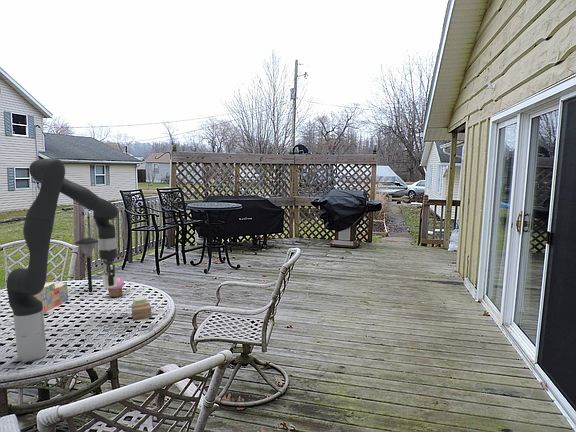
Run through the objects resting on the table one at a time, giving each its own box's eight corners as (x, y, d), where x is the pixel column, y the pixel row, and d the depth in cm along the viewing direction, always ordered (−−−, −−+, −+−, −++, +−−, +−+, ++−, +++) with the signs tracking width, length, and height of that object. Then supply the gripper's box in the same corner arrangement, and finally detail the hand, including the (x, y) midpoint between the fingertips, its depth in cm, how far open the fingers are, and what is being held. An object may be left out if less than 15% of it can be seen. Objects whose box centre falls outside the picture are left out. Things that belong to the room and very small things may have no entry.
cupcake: (127, 293, 219) (126, 276, 218) (119, 299, 210) (118, 280, 209) (112, 293, 220) (111, 275, 219) (103, 298, 211) (102, 280, 210)
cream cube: (117, 286, 182) (116, 275, 181) (105, 288, 179) (104, 277, 178) (114, 283, 186) (114, 273, 185) (103, 285, 183) (102, 275, 182)
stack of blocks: (57, 299, 210) (56, 277, 208) (68, 300, 209) (67, 277, 207) (26, 315, 189) (23, 290, 187) (38, 315, 188) (36, 290, 186)
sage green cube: (146, 308, 197) (146, 299, 196) (136, 310, 194) (135, 301, 193) (143, 305, 201) (143, 296, 200) (133, 307, 198) (132, 298, 197)
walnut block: (151, 317, 185) (151, 307, 185) (133, 320, 182) (132, 310, 181) (149, 312, 192) (149, 302, 192) (132, 314, 189) (131, 304, 188)
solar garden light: (104, 287, 230) (100, 236, 226) (101, 294, 219) (97, 240, 215) (80, 289, 226) (76, 237, 223) (76, 296, 215) (72, 241, 211)
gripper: (96, 246, 184) (98, 281, 186) (101, 251, 172) (104, 289, 174) (113, 244, 188) (115, 279, 190) (120, 249, 176) (122, 286, 179)
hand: (109, 283), depth 182 cm, fingers closed on cream cube, 5 cm apart
